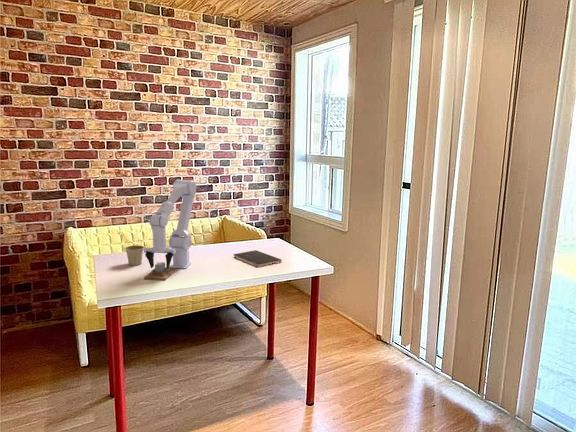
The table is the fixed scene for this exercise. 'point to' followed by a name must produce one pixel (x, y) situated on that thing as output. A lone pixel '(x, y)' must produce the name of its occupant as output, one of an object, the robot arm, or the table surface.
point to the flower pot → (134, 254)
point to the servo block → (160, 267)
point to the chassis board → (159, 274)
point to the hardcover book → (257, 258)
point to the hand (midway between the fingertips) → (160, 267)
